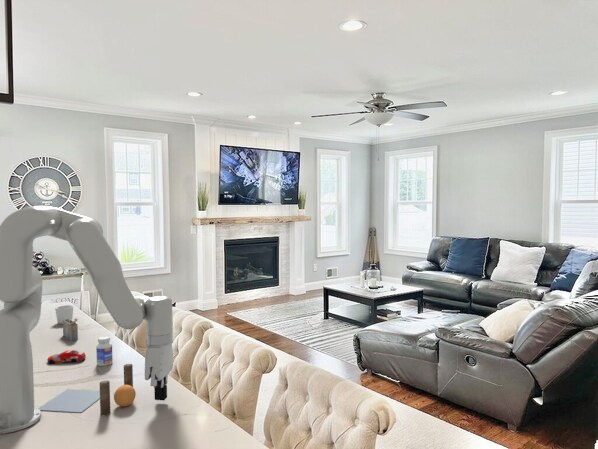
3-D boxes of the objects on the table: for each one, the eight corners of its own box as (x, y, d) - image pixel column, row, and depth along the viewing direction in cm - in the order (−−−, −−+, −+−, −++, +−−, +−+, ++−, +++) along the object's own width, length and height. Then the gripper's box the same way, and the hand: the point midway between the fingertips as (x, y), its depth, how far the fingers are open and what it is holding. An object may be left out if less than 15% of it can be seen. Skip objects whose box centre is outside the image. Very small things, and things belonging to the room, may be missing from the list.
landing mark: (81, 412, 124) (81, 412, 124) (36, 410, 125) (36, 409, 125) (108, 391, 138) (108, 391, 138) (67, 389, 139) (67, 389, 139)
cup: (59, 320, 224) (58, 304, 223) (76, 318, 226) (75, 303, 226) (54, 325, 214) (53, 309, 213) (72, 324, 216) (71, 308, 216)
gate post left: (107, 415, 122) (106, 384, 122) (98, 415, 122) (97, 384, 122) (112, 411, 125) (111, 380, 124) (103, 411, 125) (102, 380, 124)
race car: (44, 365, 162) (44, 354, 161) (51, 360, 167) (51, 350, 167) (81, 363, 163) (81, 353, 163) (87, 358, 168) (86, 348, 168)
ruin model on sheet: (79, 340, 191) (78, 318, 191) (71, 342, 189) (70, 320, 189) (70, 335, 199) (69, 314, 199) (63, 336, 197) (62, 315, 197)
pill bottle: (106, 366, 159) (105, 340, 159) (93, 365, 160) (92, 339, 160) (115, 361, 164) (115, 336, 164) (103, 360, 165) (102, 335, 165)
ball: (106, 402, 125) (124, 414, 125) (118, 385, 125) (135, 396, 125) (114, 394, 131) (131, 405, 131) (125, 377, 131) (142, 388, 131)
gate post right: (130, 395, 135) (129, 366, 134) (122, 395, 135) (121, 366, 135) (134, 391, 138) (134, 363, 137) (126, 391, 138) (126, 363, 137)
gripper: (158, 330, 137) (159, 387, 137) (135, 346, 122) (136, 410, 123) (181, 331, 136) (182, 389, 137) (160, 347, 121) (162, 411, 122)
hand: (160, 398), depth 130 cm, fingers closed
